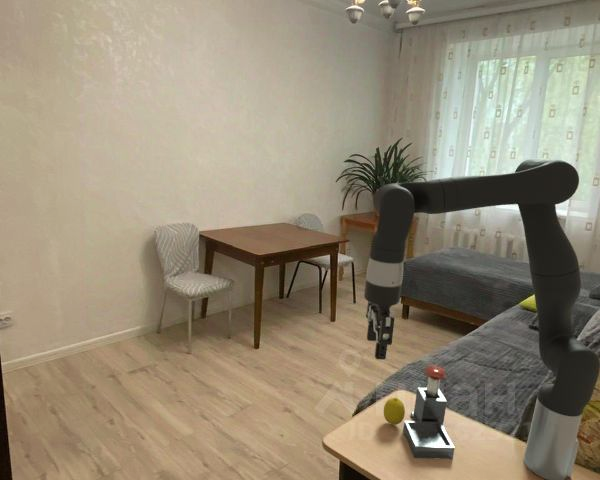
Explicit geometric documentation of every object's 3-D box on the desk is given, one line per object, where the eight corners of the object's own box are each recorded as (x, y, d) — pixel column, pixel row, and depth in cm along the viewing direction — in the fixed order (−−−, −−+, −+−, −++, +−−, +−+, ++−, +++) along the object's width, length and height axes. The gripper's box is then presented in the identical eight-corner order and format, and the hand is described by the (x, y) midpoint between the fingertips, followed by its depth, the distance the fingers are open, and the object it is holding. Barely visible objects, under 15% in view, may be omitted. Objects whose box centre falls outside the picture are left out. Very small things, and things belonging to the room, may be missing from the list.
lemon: (390, 415, 118) (394, 390, 116) (406, 426, 114) (410, 400, 112) (377, 422, 114) (381, 396, 113) (393, 434, 110) (397, 407, 108)
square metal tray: (438, 432, 112) (440, 422, 111) (452, 459, 103) (454, 447, 102) (403, 431, 112) (404, 420, 111) (414, 457, 102) (415, 446, 102)
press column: (435, 415, 119) (439, 387, 117) (444, 432, 112) (449, 402, 110) (410, 414, 119) (415, 386, 117) (418, 431, 112) (423, 401, 110)
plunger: (436, 398, 117) (441, 365, 115) (442, 410, 112) (448, 375, 110) (418, 398, 117) (423, 364, 114) (424, 409, 112) (429, 374, 109)
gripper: (411, 291, 83) (401, 366, 86) (392, 270, 97) (384, 335, 100) (373, 289, 82) (364, 364, 86) (360, 268, 96) (353, 333, 100)
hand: (375, 348), depth 93 cm, fingers open, 8 cm apart
